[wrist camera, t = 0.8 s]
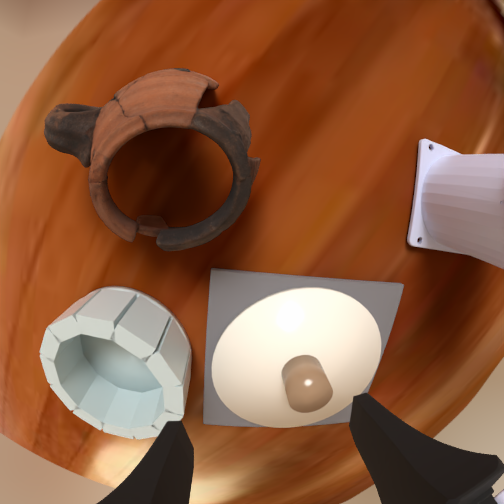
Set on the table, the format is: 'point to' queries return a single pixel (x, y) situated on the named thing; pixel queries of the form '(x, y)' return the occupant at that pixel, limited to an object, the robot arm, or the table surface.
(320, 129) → the table surface
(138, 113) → the dark brown rounded loops
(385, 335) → the mat
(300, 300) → the lid
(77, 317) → the bowl
